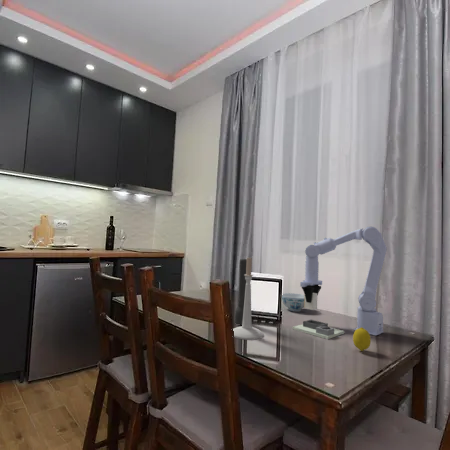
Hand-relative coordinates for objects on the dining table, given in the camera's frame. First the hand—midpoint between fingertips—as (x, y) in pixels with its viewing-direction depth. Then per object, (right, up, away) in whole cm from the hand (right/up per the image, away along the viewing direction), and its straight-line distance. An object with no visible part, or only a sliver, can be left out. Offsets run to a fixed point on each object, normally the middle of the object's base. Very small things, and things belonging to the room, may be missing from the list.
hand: (311, 301), depth 139 cm
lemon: (+8, -9, -34) cm, 36 cm away
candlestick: (-31, -8, -20) cm, 37 cm away
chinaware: (-1, -12, +28) cm, 30 cm away
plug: (0, -3, 0) cm, 3 cm away
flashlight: (-31, -9, -4) cm, 33 cm away
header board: (0, -9, -12) cm, 15 cm away
